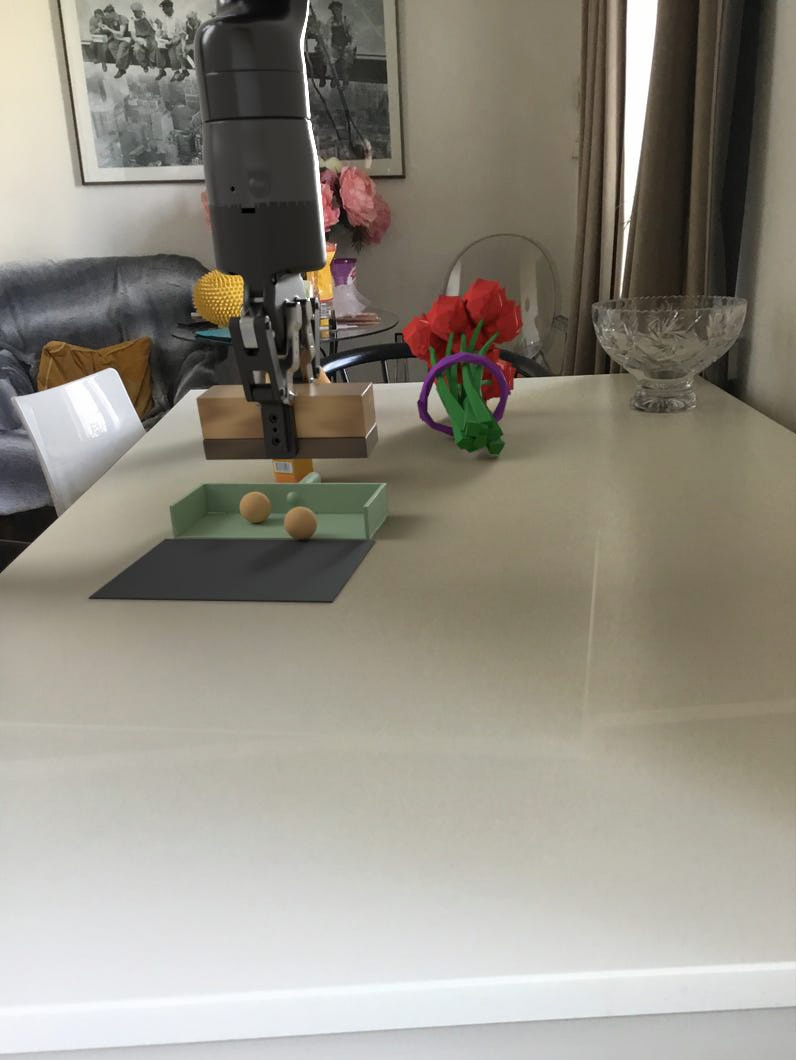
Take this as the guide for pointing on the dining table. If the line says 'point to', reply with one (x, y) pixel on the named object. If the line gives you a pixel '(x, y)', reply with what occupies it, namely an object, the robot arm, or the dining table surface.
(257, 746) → the dining table surface
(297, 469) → the supplement box
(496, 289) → the bouquet
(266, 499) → the ball
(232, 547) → the mat
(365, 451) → the brush
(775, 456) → the dining table surface
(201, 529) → the dustpan
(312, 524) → the ball
